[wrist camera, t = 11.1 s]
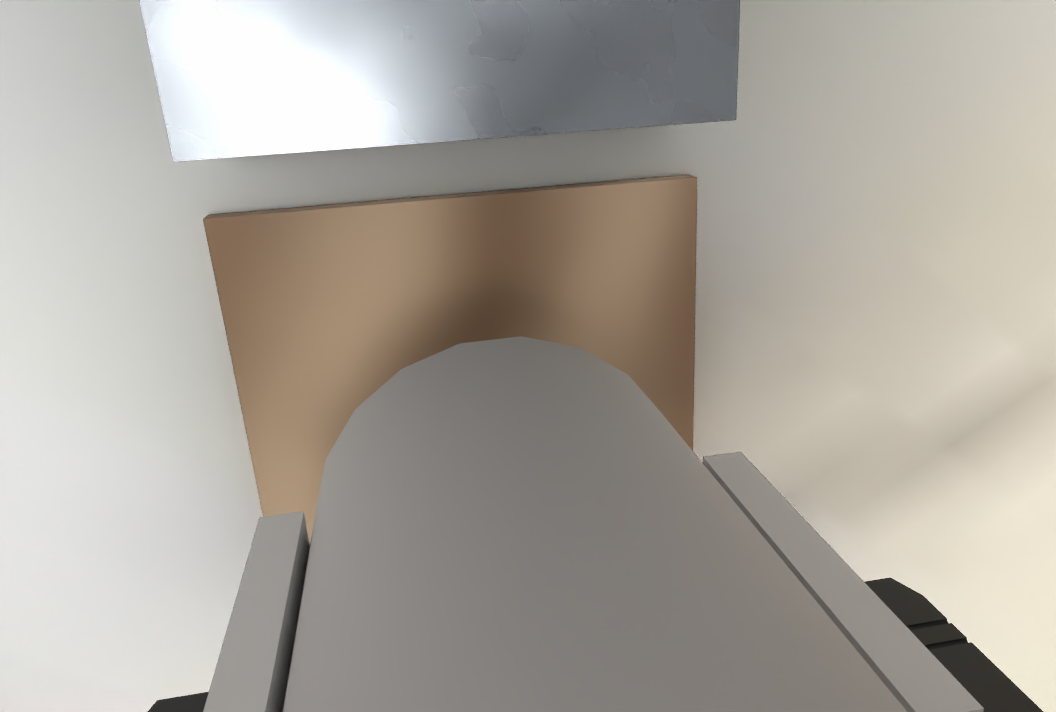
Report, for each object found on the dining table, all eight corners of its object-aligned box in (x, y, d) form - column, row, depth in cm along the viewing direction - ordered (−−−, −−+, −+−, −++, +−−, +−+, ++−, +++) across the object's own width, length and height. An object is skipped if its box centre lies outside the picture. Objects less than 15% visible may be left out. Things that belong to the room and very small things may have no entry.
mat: (688, 174, 20) (697, 177, 20) (684, 537, 24) (691, 548, 24) (208, 215, 19) (203, 218, 18) (284, 596, 22) (282, 610, 22)
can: (562, 250, 15) (1040, 717, 4) (722, 521, 18) (1268, 1244, 7) (241, 453, 15) (-137, 1415, 4) (446, 690, 18) (541, 1651, 7)
